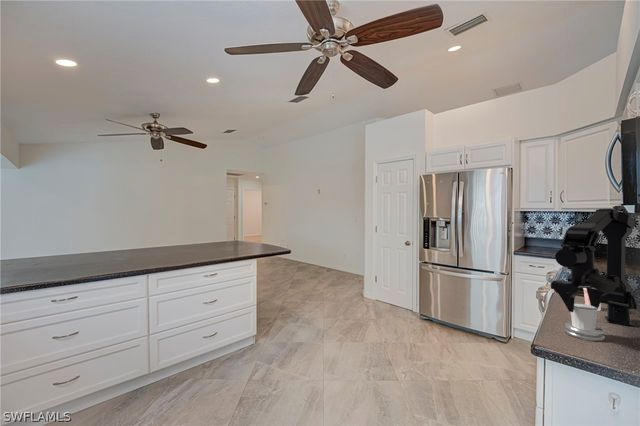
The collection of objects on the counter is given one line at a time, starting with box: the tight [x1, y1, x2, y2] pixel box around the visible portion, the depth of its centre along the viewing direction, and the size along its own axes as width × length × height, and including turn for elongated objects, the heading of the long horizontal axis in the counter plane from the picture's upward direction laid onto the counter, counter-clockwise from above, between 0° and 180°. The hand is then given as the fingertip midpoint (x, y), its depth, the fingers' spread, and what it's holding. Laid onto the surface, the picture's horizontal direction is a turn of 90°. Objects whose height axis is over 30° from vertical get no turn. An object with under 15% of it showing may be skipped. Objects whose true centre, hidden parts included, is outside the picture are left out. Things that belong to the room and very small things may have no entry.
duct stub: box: [563, 321, 606, 343], centre depth 93 cm, size 10×10×3 cm
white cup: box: [570, 302, 598, 330], centre depth 93 cm, size 7×7×7 cm
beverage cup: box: [582, 288, 602, 312], centre depth 118 cm, size 6×6×14 cm
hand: (582, 311), depth 93 cm, fingers open, 9 cm apart
